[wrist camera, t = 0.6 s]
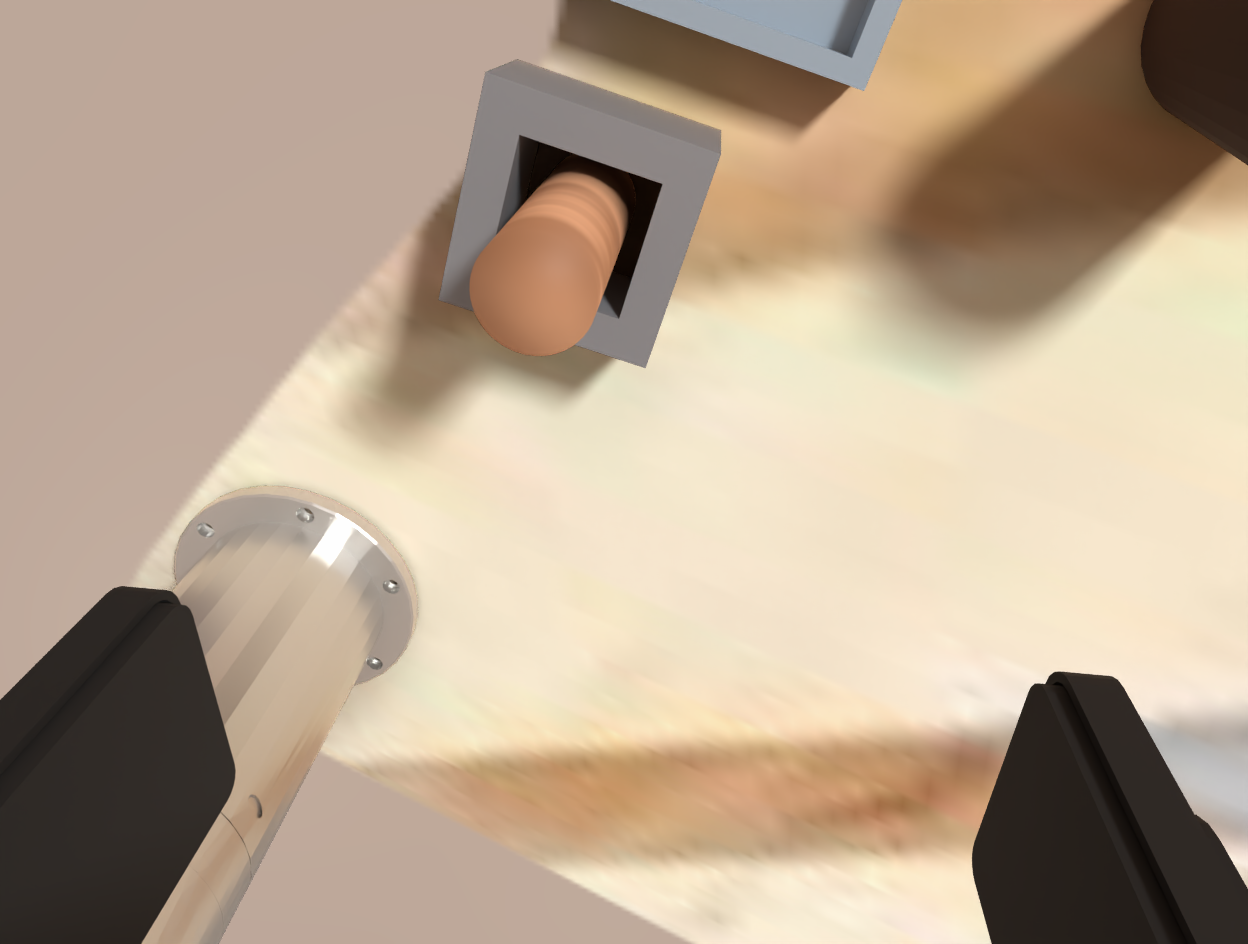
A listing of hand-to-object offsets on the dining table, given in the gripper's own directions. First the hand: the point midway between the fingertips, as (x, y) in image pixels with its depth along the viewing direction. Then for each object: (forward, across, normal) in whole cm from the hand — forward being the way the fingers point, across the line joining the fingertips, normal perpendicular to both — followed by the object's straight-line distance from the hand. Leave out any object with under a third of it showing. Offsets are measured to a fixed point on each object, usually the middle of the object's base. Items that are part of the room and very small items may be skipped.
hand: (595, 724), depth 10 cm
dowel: (+28, +4, 0) cm, 28 cm away
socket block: (+28, +4, 0) cm, 28 cm away
